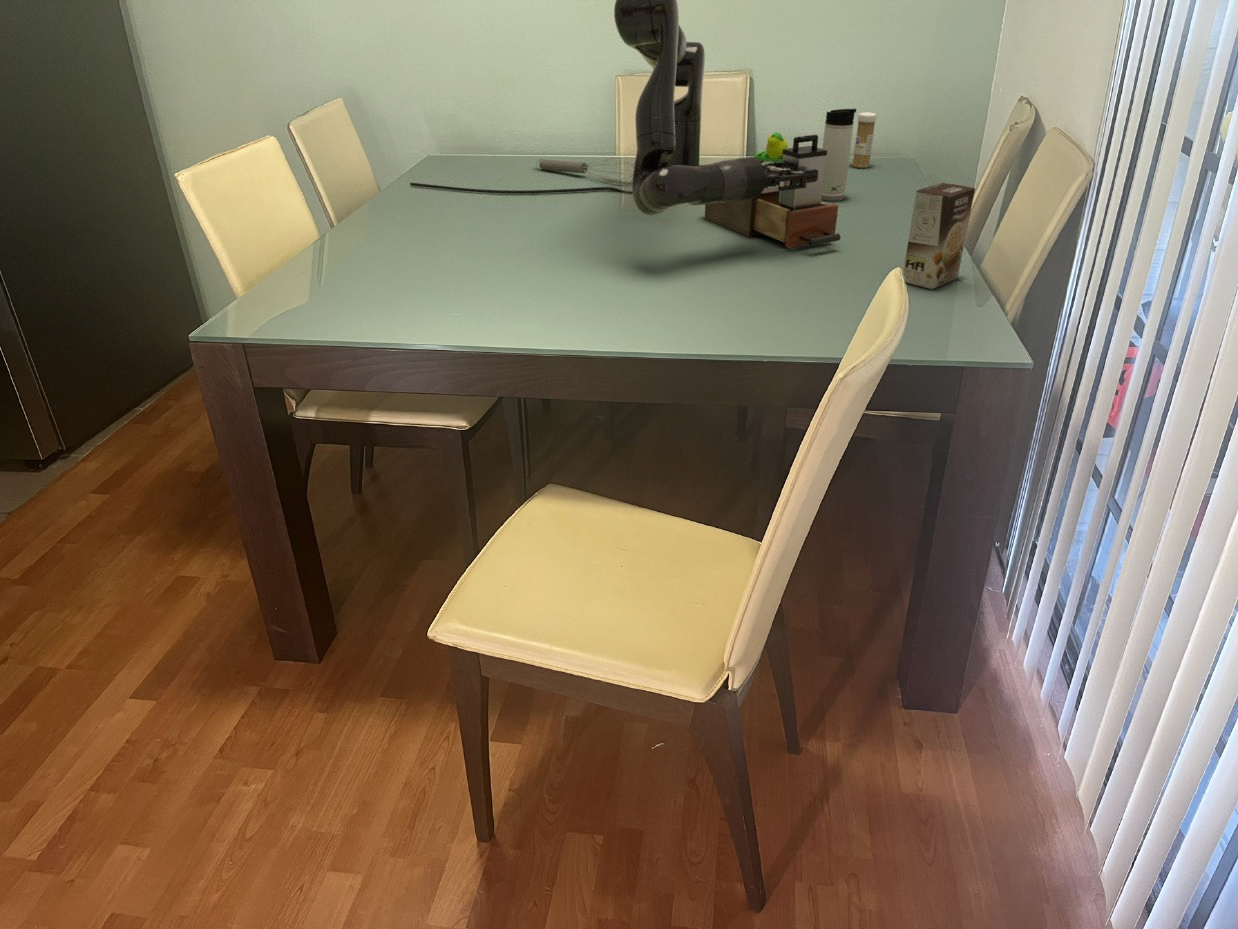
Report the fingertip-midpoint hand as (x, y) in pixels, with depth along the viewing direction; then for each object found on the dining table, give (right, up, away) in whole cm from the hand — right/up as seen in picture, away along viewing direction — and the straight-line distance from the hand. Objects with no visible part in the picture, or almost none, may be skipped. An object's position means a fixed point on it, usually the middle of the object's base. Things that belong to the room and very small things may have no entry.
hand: (802, 170), depth 174 cm
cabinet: (-7, -5, +19) cm, 21 cm away
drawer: (0, -11, +7) cm, 13 cm away
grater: (0, -10, +6) cm, 12 cm away
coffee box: (+20, -24, -13) cm, 34 cm away
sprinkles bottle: (+29, +23, +66) cm, 76 cm away
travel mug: (+14, +6, +37) cm, 41 cm away
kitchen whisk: (-44, +16, +56) cm, 74 cm away
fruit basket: (+5, +17, +57) cm, 59 cm away
